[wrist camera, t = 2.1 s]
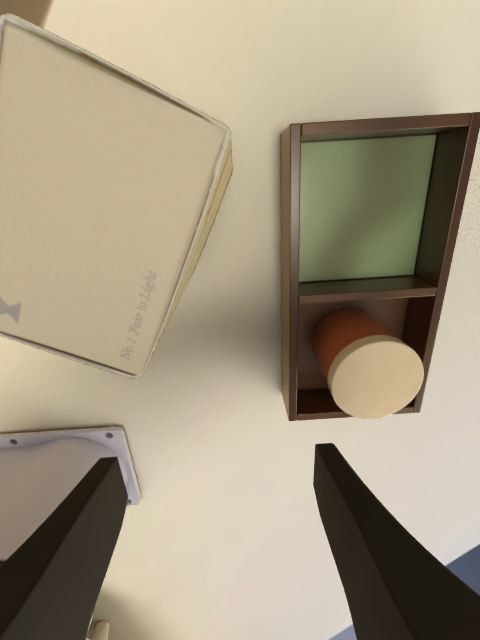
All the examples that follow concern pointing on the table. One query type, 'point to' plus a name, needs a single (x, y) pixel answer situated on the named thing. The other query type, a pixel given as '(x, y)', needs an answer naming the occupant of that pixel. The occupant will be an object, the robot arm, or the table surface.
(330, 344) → the cream jar
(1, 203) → the cosmetic box
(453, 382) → the table surface
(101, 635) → the table lamp
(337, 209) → the organizer
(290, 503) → the table surface
